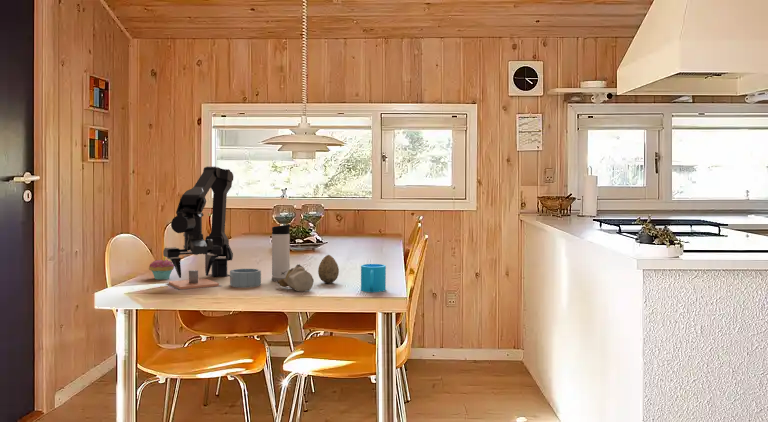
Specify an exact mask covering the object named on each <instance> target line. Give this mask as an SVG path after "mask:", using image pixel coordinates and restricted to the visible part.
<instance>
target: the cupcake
mask: <svg viewBox="0 0 768 422" xmlns="http://www.w3.org/2000/svg"><path fill="white" fill-rule="evenodd" d="M174 269H175V267H174V265H173V263H172V261H171V260H170V261H169V259H168V260H167V259H166V257H165V256H163V259H156V260H153V261H152V262H150V264H149V266H148V270H149V271H151V272H152V274H153V277H154V279H155V280H168V279H170V277H171V274H172V271H174Z"/></svg>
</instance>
